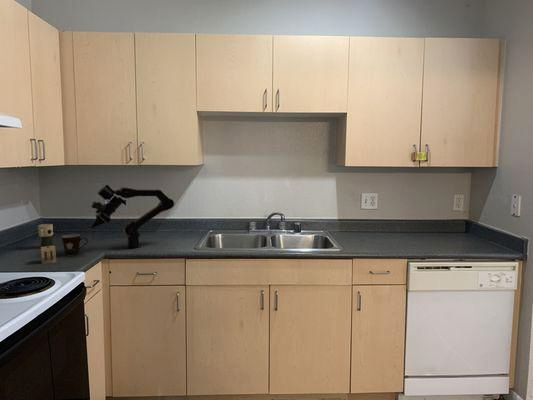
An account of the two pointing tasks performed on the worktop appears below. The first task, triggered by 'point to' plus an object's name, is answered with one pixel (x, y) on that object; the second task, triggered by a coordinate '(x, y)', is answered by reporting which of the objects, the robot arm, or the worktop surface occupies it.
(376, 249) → the worktop surface
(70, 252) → the coffee mug
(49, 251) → the numbered maple block
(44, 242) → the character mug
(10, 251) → the worktop surface
